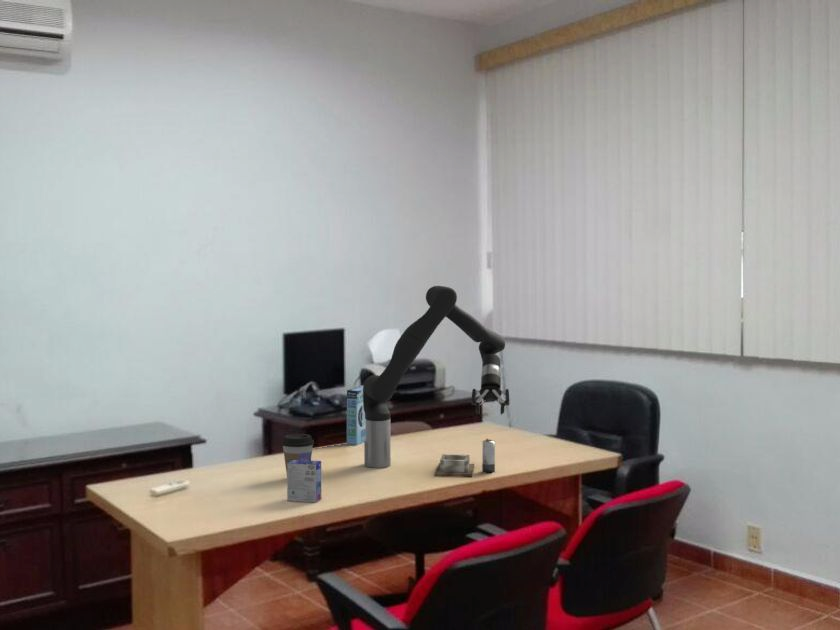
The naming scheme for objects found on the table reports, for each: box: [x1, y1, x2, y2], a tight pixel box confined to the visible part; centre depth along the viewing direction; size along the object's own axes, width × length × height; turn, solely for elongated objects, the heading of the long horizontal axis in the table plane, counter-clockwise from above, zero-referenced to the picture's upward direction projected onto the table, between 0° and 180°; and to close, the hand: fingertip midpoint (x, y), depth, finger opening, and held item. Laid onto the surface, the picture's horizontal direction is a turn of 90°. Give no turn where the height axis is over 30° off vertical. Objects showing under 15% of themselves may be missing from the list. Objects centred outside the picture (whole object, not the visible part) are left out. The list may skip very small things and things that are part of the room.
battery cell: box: [481, 438, 496, 474], centre depth 308 cm, size 4×4×12 cm
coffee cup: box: [281, 433, 315, 474], centre depth 297 cm, size 11×11×15 cm
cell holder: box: [434, 453, 475, 478], centre depth 308 cm, size 13×16×5 cm
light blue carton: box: [346, 384, 366, 446], centre depth 364 cm, size 20×5×23 cm, turn 161°
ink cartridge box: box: [286, 453, 322, 503], centre depth 270 cm, size 10×6×14 cm, turn 78°
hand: (490, 413), depth 320 cm, fingers open, 8 cm apart
